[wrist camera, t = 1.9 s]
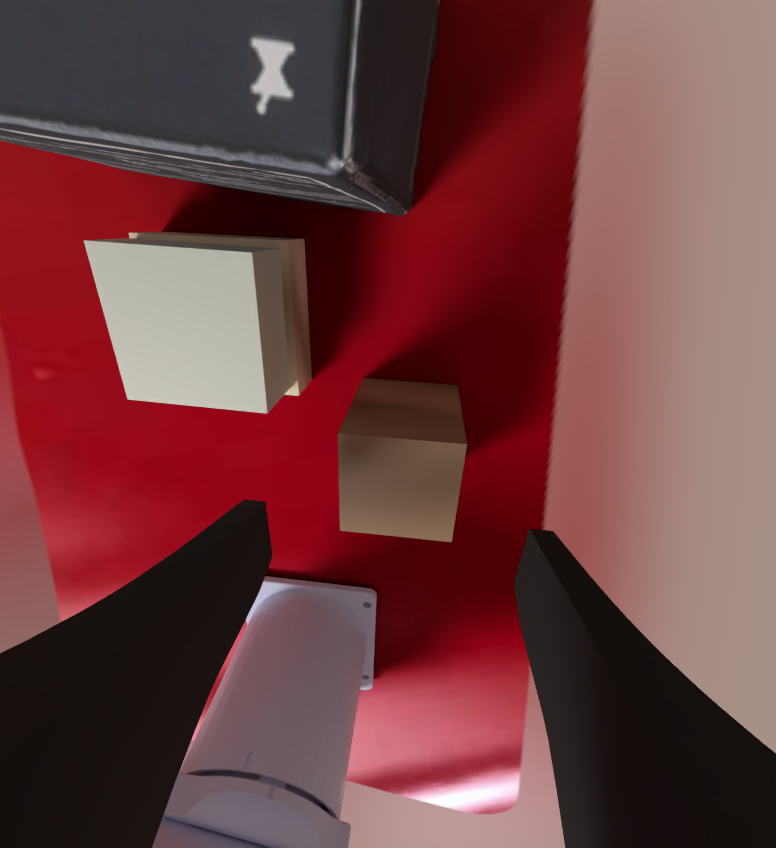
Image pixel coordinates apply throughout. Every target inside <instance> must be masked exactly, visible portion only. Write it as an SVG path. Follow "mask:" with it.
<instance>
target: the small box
mask: <svg viewBox="0 0 776 848" xmlns="http://www.w3.org/2000/svg"><path fill="white" fill-rule="evenodd" d="M439 3H440V0H0V141H5V142H10V143H14V144H18V145H21V146H26V147H31V148H36V149H41V150H45V151H50V152H54V153H58V154H63V155H68V156H72V157H76V158H80V159H85V160H89V161H93V162H96V163H101V164H104V165H108V166H112V167H115V168H119V169H123V170H128V171H136V172H140V173H146V174H151V175H156V176H162V177H168V178H174V179H180V180H185V181H192V182H198V183H203V184H209V185H210V186H213V187H215V186H219V187H226V188H232V189H238V190H243V191H250V192H257V193H261V194H266V195H273V196H279V197H283V198H286V199H288V200H294V201H298V200H299V201H302V202H315V203H317V204H320V205H323V206H337V207H344V208H350V209H360V210H365V211H374V212H380V213H387V214H392V215H396V216H401V217H402V216H404V215H405V214H406V213H407V212H408V211H409V210H410V209H412V208H413V205H412V203H411V202H412V199H413V197H414V181H413V180H414V171H415V168H416V167H417V164H418V160H417V153H418V151H419V148H420V131H421V129H422V117H423V114H424V105H425V100H426V97H427V95H428V90H427V88H428V79H429V75H430V66H431V63H432V62H433V60H434V57H435V46H436V42H437V31H438V17H439Z"/></svg>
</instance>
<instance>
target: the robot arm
mask: <svg viewBox="0 0 776 848" xmlns="http://www.w3.org/2000/svg"><path fill="white" fill-rule="evenodd" d="M271 558H272V548H271V541H270V533H269V526H268V518H267V510H266V503H265V502H263V501H253V500H243V501H242V502H240V503H239V504H238V505H236V506H235V507H234V508H232V509H231V510H230V511H228V512H227V513H226V514H224V515H223V516H222V517H221V518H219V519H218V520H217V521H215V522H214V523H213V524H211V525H210V526H209V527H208V528H206V529H205V530H204V531H202V532H201V533H200V534H198V535H197V536H196V537H194V538H193V539H192V540H190V541H189V542H188V543H186V544H185V545H184V546H182V547H181V548H180V549H178V550H177V551H175V552H174V553H172V554H171V555H169V556H168V557H167V558H165V559H164V560H162V561H161V562H159V563H158V564H156V565H155V566H154V567H152V568H151V569H149V570H148V571H146V572H145V573H143V574H142V575H140V576H139V577H137V578H136V579H134V580H133V581H131V582H130V583H128V584H127V585H125V586H123V587H122V588H120V589H119V590H117V591H115V592H114V593H112V594H110V595H109V596H107V597H105V598H104V599H102V600H100V601H98V602H97V603H95V604H93V605H92V606H90V607H88V608H86V609H85V610H83V611H81V612H79V613H78V614H76V615H74V616H72V617H70V618H68V619H66V620H64V621H62V622H61V623H59V624H57V625H55V626H53V627H51V628H49V629H47V630H46V631H44V632H42V633H40V634H38V635H36V636H34V637H32V638H31V639H29V640H27V641H25V642H23V643H21V644H19V645H17V646H14V647H12V648H10V649H8V650H6V651H4V652H2V653H0V848H348V843H349V836H350V828H351V826H350V824H349V823H346V822H343V821H340V813H341V807H342V800H343V794H344V788H345V781H346V775H347V769H348V762H349V756H350V749H351V743H352V737H353V730H354V724H355V717H356V711H357V705H358V698H359V692H360V689H362V690H369V689H371V688H372V686H373V674H374V650H375V626H376V602H377V594H376V592H375V591H374V590H373V589H370V588H364V587H355V586H346V585H338V584H329V583H320V582H312V581H303V580H294V579H286V578H277V577H268V576H266V573H267V570H268V567H269V564H270V561H271ZM514 585H515V593H516V601H517V608H518V615H519V622H520V626H521V630H522V634H523V638H524V642H525V646H526V650H527V654H528V658H529V662H530V666H531V670H532V674H533V678H534V681H535V685H536V689H537V693H538V697H539V701H540V705H541V709H542V713H543V717H544V722H545V726H546V731H547V736H548V741H549V746H550V752H551V759H552V764H553V770H554V777H555V782H556V789H557V795H558V802H559V808H560V815H561V821H562V828H563V835H564V841H565V848H776V753H774V752H773V751H772V750H771V749H769V748H768V747H767V746H766V745H764V744H763V743H762V742H761V741H760V740H758V739H757V738H756V737H755V736H753V735H752V734H751V733H750V732H749V731H748V730H746V729H745V728H744V727H743V726H742V725H740V724H739V723H738V722H737V721H736V720H735V719H733V718H732V717H731V716H730V715H729V714H728V713H726V712H725V711H724V710H723V709H722V708H720V707H719V706H718V705H717V704H716V703H715V702H713V701H712V700H711V699H710V698H709V697H708V696H707V695H706V694H705V693H703V692H702V691H701V690H700V689H699V688H698V687H697V686H696V685H695V684H694V683H693V682H692V681H690V680H689V679H688V678H687V677H686V676H685V675H684V674H683V673H682V672H681V671H680V670H679V669H678V668H677V667H675V666H674V665H673V664H672V663H671V662H670V661H669V660H668V659H667V658H666V657H665V656H664V655H663V654H662V653H661V652H660V651H659V650H658V649H657V648H656V647H655V646H654V645H653V644H652V643H651V642H650V641H649V640H648V639H647V638H646V637H645V636H644V635H643V634H642V633H641V632H640V631H639V630H638V629H637V628H636V627H635V626H634V625H633V624H632V622H631V621H630V620H628V618H627V617H626V616H625V615H624V614H623V613H622V612H621V611H620V610H619V608H618V607H617V606H616V605H615V604H614V603H613V602H612V601H611V600H610V598H609V597H608V596H607V595H606V594H605V593H604V592H603V590H602V589H601V588H600V587H599V586H598V585H597V584H596V582H595V581H594V580H593V579H592V578H591V577H590V576H589V574H588V573H587V572H586V571H585V569H584V568H583V567H582V566H581V565H580V563H579V562H578V561H577V560H576V558H575V557H574V556H573V555H572V554H571V552H570V551H569V550H568V549H567V548H566V546H565V545H564V544H563V543H562V541H561V540H560V539H559V538H558V537H557V535H556V534H555V533H554V532H553V531H547V530H537V529H529V531H528V535H527V539H526V542H525V546H524V549H523V553H522V557H521V560H520V564H519V568H518V571H517V575H516V578H515V582H514ZM245 620H246V621H247V628H246V630H245V632H244V634H243V636H242V638H241V640H240V643H239V645H238V647H237V649H236V651H235V653H234V656H233V658H232V660H231V662H230V664H229V666H228V669H227V671H226V673H225V675H224V677H223V679H222V681H221V684H220V686H219V688H218V690H217V692H216V694H215V697H214V699H213V701H212V703H211V705H210V707H209V710H208V712H207V714H206V716H205V718H204V720H203V722H202V725H201V727H200V729H199V731H198V733H197V735H196V738H195V740H194V742H193V744H192V746H191V748H190V751H189V753H188V755H187V757H186V759H185V761H184V763H183V760H184V757H185V755H186V752H187V750H188V747H189V744H190V742H191V739H192V736H193V734H194V731H195V729H196V726H197V724H198V721H199V719H200V716H201V714H202V711H203V709H204V706H205V704H206V701H207V699H208V696H209V694H210V691H211V689H212V687H213V685H214V682H215V680H216V678H217V676H218V674H219V672H220V670H221V668H222V666H223V664H224V662H225V660H226V658H227V656H228V654H229V652H230V650H231V648H232V646H233V644H234V642H235V640H236V638H237V636H238V634H239V632H240V630H241V628H242V626H243V624H244V622H245ZM182 763H183V766H182ZM181 766H182V768H181ZM180 768H181V770H180ZM179 771H180V772H179Z"/></svg>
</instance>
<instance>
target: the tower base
mask: <svg viewBox="0 0 776 848" xmlns="http://www.w3.org/2000/svg"><path fill="white" fill-rule="evenodd" d="M129 237H130V238H140V239H154V240H168V241H182V242H196V243H210V244H224V245H238V246H252V247H266V248H280V257H281V273H282V288H283V303H284V319H285V334H286V350H287V365H288V380H289V390H288V391H287V392H286V393H285V394H284V395H296V396H299V395H300V394H301V393H302V391H303V390H304V389H305V388H306V386H307V385H308V384H309V382H310V381H311V380H312V371H311V353H310V334H309V316H308V297H307V278H306V260H305V241H304V239H299V238H279V237H258V236H237V235H217V234H196V233H175V232H138V233H129Z"/></svg>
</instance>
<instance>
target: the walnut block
mask: <svg viewBox="0 0 776 848" xmlns="http://www.w3.org/2000/svg"><path fill="white" fill-rule="evenodd" d="M466 448H467V441H466V434H465V428H464V422H463V416H462V409H461V403H460V397H459V391H458V385H447V384H434V383H421V382H408V381H395V380H382V379H369V378H363V380H362V382H361V384H360V386H359V388H358V391H357V393H356V395H355V397H354V399H353V402H352V404H351V406H350V408H349V410H348V413H347V415H346V417H345V419H344V421H343V424H342V426H341V428H340V430H339V432H338V454H339V505H340V531H349V532H358V533H368V534H378V535H387V536H397V537H406V538H416V539H425V540H435V541H444V542H452V537H453V531H454V524H455V518H456V512H457V505H458V499H459V493H460V486H461V480H462V474H463V467H464V461H465V455H466Z"/></svg>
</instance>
